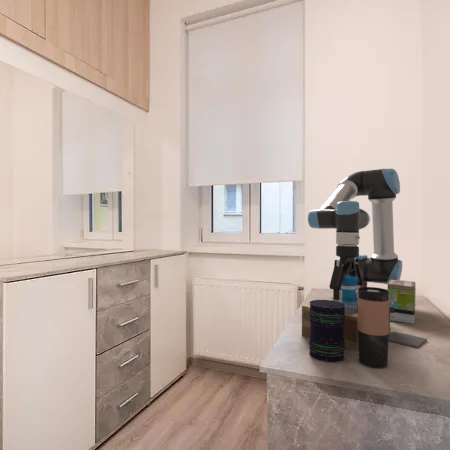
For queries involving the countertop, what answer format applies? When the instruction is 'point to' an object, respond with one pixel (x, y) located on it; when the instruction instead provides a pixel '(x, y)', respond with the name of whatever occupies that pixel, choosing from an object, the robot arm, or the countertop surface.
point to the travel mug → (373, 326)
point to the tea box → (402, 300)
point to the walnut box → (349, 326)
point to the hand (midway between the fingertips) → (346, 306)
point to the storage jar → (327, 330)
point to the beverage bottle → (350, 294)
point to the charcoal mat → (406, 339)
